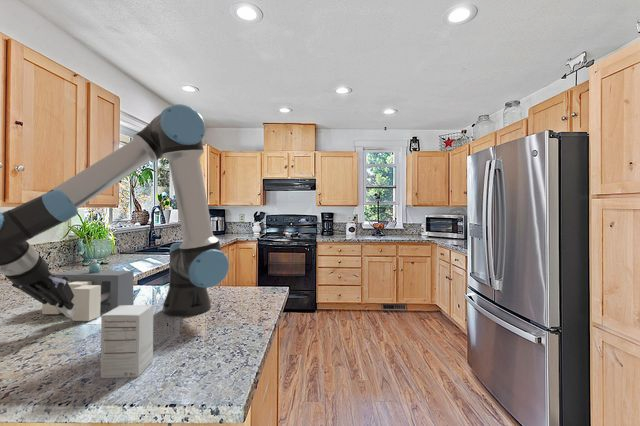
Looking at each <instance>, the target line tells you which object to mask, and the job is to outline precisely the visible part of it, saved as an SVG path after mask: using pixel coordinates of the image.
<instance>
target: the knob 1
mask: <svg viewBox="0 0 640 426" xmlns="http://www.w3.org/2000/svg"><path fill="white" fill-rule="evenodd" d="M67 282H68V283H71V281H67ZM41 305H42V306H41V307H42V308H41V309H42V312H41V315H60V314H63V313H62V312H61V311H60V310H59V309H57V308H56V307H55V306H54V305H50V304H49V303H47V304H42V303H41Z"/></svg>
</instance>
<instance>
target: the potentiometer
mask: <svg viewBox="0 0 640 426" xmlns="http://www.w3.org/2000/svg"><path fill="white" fill-rule="evenodd" d="M97 261H98V260H97V259H92V263H89V266H88V270H89V273H99V272H100V270H101V268H100V267H101V264H100V263H97Z"/></svg>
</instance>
